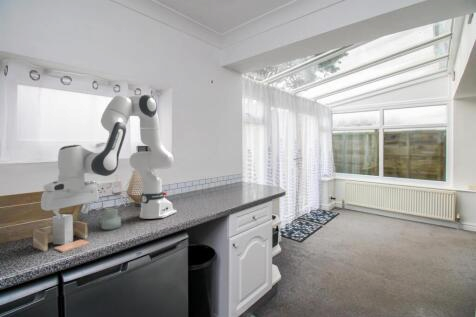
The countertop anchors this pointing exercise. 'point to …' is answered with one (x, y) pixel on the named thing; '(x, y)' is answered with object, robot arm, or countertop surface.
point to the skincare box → (63, 229)
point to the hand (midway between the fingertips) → (72, 216)
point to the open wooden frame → (46, 235)
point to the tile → (71, 245)
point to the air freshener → (111, 219)
